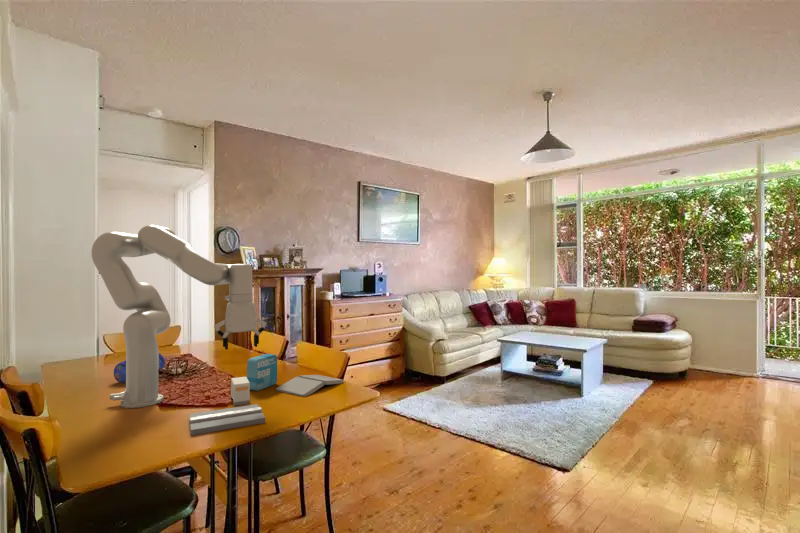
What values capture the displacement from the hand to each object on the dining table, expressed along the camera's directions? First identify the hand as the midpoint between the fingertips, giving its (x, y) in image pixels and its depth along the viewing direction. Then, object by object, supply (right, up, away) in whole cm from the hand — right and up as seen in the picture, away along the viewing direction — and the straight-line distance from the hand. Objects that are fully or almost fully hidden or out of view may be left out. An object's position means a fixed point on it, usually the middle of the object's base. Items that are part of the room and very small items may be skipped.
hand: (241, 347), depth 143 cm
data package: (+2, -19, +17) cm, 26 cm away
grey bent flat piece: (+20, -20, +18) cm, 34 cm away
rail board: (+3, -19, -19) cm, 27 cm away
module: (0, -19, 0) cm, 19 cm away
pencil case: (-55, -19, +31) cm, 66 cm away
